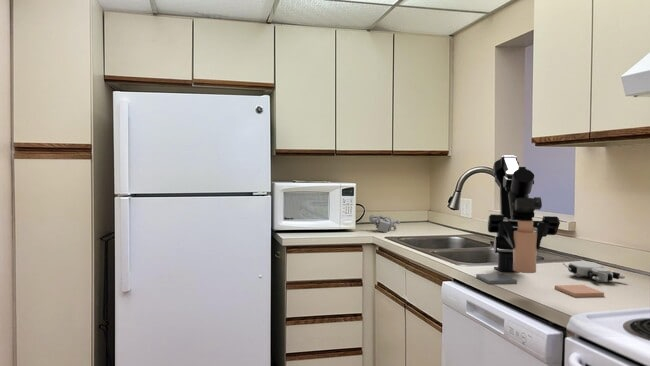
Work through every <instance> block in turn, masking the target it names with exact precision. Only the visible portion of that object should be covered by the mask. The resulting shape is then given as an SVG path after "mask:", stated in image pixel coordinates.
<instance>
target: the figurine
mask: <svg viewBox="0 0 650 366" xmlns="http://www.w3.org/2000/svg"><path fill="white" fill-rule="evenodd" d="M368 220H369V224H374V225H375V229H377V231H379V232H383V233H386V234H387V233H388V232H390V231H391V229H392V228H393V230H397V228H398V227H397V225H400V223H401V221H400V220H397V219H396V220H394V219H393V218H392V216H383V215H382V214H380V215H377V214H371V215H369V217H368ZM396 224H397V225H396Z"/></svg>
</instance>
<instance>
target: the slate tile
mask: <svg viewBox="0 0 650 366" xmlns="http://www.w3.org/2000/svg"><path fill="white" fill-rule="evenodd" d="M476 278H477V279H479V280H481V281H483V282H485V283H486V284H488V285H497V284H498V285H501V284H502V285H503V284H504V285H505V284H506V285H507V284H518V280H517V279H515V278H512V277H511V276H508V275H506V274H504V273H476Z"/></svg>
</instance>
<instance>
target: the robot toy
mask: <svg viewBox="0 0 650 366" xmlns="http://www.w3.org/2000/svg"><path fill="white" fill-rule="evenodd" d="M562 264H563V266H565V267H566V268H567V270H568V271H569V273H572V274H573V275H574V276H575V277H578V278H581V277H589V278H590V279H591V280H593V281H595V282H597V283H608V282H613V279H615V280H619V279H620V280H621V279H622V280H623V279H626V276H625V275H621V273H619V272H614V271H611V270H610V269H608V268H605V267H604V266H603V265H602V264H599V263H596V262H592V261H579V260H578V261H572V262H569V263H568V266H567V265H566V264H565V263H564V262H562Z"/></svg>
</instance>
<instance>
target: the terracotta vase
mask: <svg viewBox="0 0 650 366" xmlns="http://www.w3.org/2000/svg"><path fill="white" fill-rule="evenodd" d="M533 221H534V220H533ZM533 221H525V220H519V221H518V230H517V231H514V244H515V248H514V249H513V270H514V271H516V272H515V273H517V272H518V273H522V274H534V273H535V274H536V273H537V253H538V252H537V251H538V250H537V232H536V231H534V228H533Z"/></svg>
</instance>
